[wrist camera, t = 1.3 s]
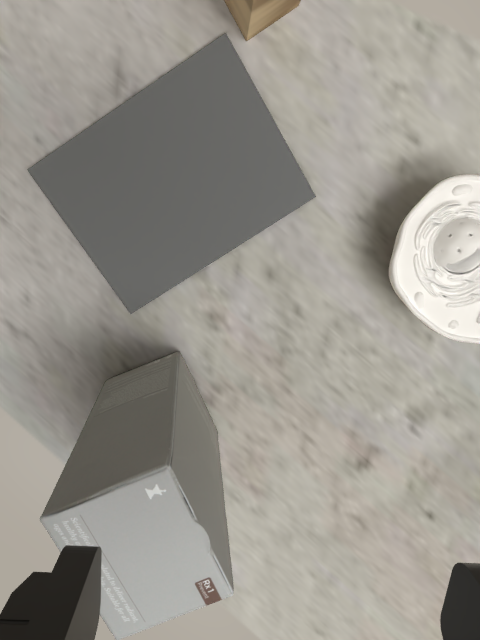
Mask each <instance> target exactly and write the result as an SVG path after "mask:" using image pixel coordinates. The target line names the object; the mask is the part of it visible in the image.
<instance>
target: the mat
mask: <svg viewBox="0 0 480 640" xmlns="http://www.w3.org/2000/svg"><path fill="white" fill-rule="evenodd" d="M28 172H29V173H30V174H31V176H32V177H33V179H34V180H35V181H36V183H37V184H38V185H39V187H40V188H41V190H42V191H43V192H44V194H45V195H46V197H47V198H48V199H49V201H50V202H51V204H52V205H53V206H54V208H55V209H56V211H57V212H58V213H59V215H60V216H61V218H62V219H63V220H64V222H65V223H66V224H67V226H68V227H69V229H70V230H71V231H72V233H73V234H74V236H75V237H76V238H77V240H78V241H79V243H80V244H81V245H82V247H83V248H84V250H85V251H86V252H87V254H88V255H89V257H90V258H91V259H92V261H93V262H94V264H95V265H96V266H97V268H98V269H99V270H100V272H101V273H102V275H103V276H104V277H105V279H106V280H107V282H108V283H109V284H110V286H111V287H112V289H113V290H114V291H115V293H116V294H117V296H118V297H119V298H120V300H121V301H122V303H123V304H124V305H125V307H126V308H127V309H128V311H129V312H130V314H132V313H133V312H135V311H136V310H138V309H139V308H141V307H143V306H144V305H146V304H147V303H149V302H151V301H152V300H154V299H155V298H157V297H158V296H160V295H162V294H163V293H165V292H166V291H168V290H169V289H171V288H173V287H174V286H176V285H177V284H179V283H180V282H182V281H184V280H185V279H187V278H188V277H190V276H192V275H193V274H195V273H196V272H198V271H199V270H201V269H203V268H204V267H206V266H207V265H209V264H210V263H212V262H214V261H215V260H217V259H218V258H220V257H221V256H223V255H225V254H226V253H228V252H229V251H231V250H232V249H234V248H236V247H237V246H239V245H240V244H242V243H244V242H245V241H247V240H248V239H250V238H251V237H253V236H255V235H256V234H258V233H259V232H261V231H262V230H264V229H266V228H267V227H269V226H270V225H272V224H273V223H275V222H277V221H278V220H280V219H281V218H283V217H284V216H286V215H288V214H289V213H291V212H292V211H294V210H296V209H297V208H299V207H300V206H302V205H303V204H305V203H307V202H308V201H310V200H311V199H313V198H314V197H316V196H315V194H314V192H313V191H312V189H311V187H310V185H309V183H308V182H307V180H306V178H305V176H304V174H303V172H302V171H301V169H300V167H299V165H298V163H297V162H296V160H295V158H294V156H293V154H292V152H291V151H290V149H289V147H288V145H287V143H286V142H285V140H284V138H283V136H282V134H281V132H280V131H279V129H278V127H277V125H276V123H275V122H274V120H273V118H272V116H271V114H270V112H269V111H268V109H267V107H266V105H265V103H264V102H263V100H262V98H261V96H260V94H259V92H258V91H257V89H256V87H255V85H254V83H253V82H252V80H251V78H250V76H249V74H248V73H247V71H246V69H245V67H244V65H243V63H242V62H241V60H240V58H239V56H238V54H237V53H236V51H235V49H234V47H233V45H232V43H231V42H230V40H229V38H228V36H227V34H226V33H225V34H223V35H222V36H220V37H219V38H217V39H216V40H215V41H213V42H212V43H210V44H209V45H207V46H206V47H204V48H203V49H202V50H200V51H199V52H197V53H196V54H194V55H193V56H191V57H190V58H189V59H187V60H186V61H184V62H183V63H181V64H180V65H178V66H177V67H175V68H174V69H173V70H171V71H170V72H168V73H167V74H165V75H164V76H162V77H161V78H160V79H158V80H157V81H155V82H154V83H152V84H151V85H149V86H148V87H146V88H145V89H144V90H142V91H141V92H139V93H138V94H136V95H135V96H133V97H132V98H131V99H129V100H128V101H126V102H125V103H123V104H122V105H120V106H119V107H118V108H116V109H115V110H113V111H112V112H110V113H109V114H107V115H106V116H104V117H103V118H102V119H100V120H99V121H97V122H96V123H94V124H93V125H91V126H90V127H89V128H87V129H86V130H84V131H83V132H81V133H80V134H78V135H77V136H75V137H74V138H73V139H71V140H70V141H68V142H67V143H65V144H64V145H62V146H61V147H60V148H58V149H57V150H55V151H54V152H52V153H51V154H49V155H48V156H47V157H45V158H44V159H42V160H41V161H39V162H38V163H36V164H35V165H33V166H32V167H31V168H29V169H28Z"/></svg>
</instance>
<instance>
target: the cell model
mask: <svg viewBox="0 0 480 640" xmlns="http://www.w3.org/2000/svg"><path fill="white" fill-rule="evenodd" d="M389 279H390V282H391V285H392V287H393V289H394V291H395V292H396V294H397V295H398V297H399V298H400V299H401V300H402V302H403V303H404V304H405V305H406V306H407V307H408V308H409V309H410V311H411V312H412V313H413V314H414V315H415V316H416V317H417V318H418V319H419V320H420V321H421V322H423V323H424V324H425V325H426V326H427V327H428V328H430V329H431V330H433V331H435V332H437V333H439V334H441V335H443V336H445V337H447V338H449V339H452V340H456V341H460V342H468V343H476V344H480V175H476V174H464V175H457V176H452V177H449V178H446V179H444V180H442V181H441V182H439V183H438V184H436V185H435V186H434V187H433V188H432V189H431V190H430V191H429V192H428V193H427V194H426V195H425V196H424V197H423V198H422V199H421V200H420V201H419V202H418V203H417V204H416V205H415V206H414V207H413V209H412V210H411V211H410V212H409V213H408V215H407V216H406V218H405V219H404V221H403V222H402V224H401V226H400V228H399V231H398V233H397V237H396V240H395V244H394V249H393V253H392V257H391V260H390V265H389Z"/></svg>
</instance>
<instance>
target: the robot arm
mask: <svg viewBox="0 0 480 640" xmlns="http://www.w3.org/2000/svg"><path fill="white" fill-rule="evenodd" d="M101 561H102V551H101V547H97V546H73V545H66V546H65V547H64V548H63V549H62V551H61V553H60V555H59V558H58V560H57V562H56V564H55V566H54V569H53V571H52V573H48V572H33V573H32V574H31V575H30V576H29V577H28V578H27V579H26V580H25V581H24V582H23V583H22V584H21V585H20V586H19V587H18V588H17V589H16V590H15V591H14V592H12V594H11V596H10V598H9V599H8V601H7V603H6V605H5V607H4V608H3V610H2V612H1V614H0V640H94V639H95V635H96V631H97V626H98V621H99V614H100V606H101ZM440 622H441V631H442V636H443V640H480V564H477V563H457V564H455V565H454V567H453V570H452V573H451V577H450V581H449V585H448V589H447V593H446V597H445V600H444V604H443V608H442V612H441V619H440Z"/></svg>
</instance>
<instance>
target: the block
mask: <svg viewBox="0 0 480 640" xmlns="http://www.w3.org/2000/svg"><path fill="white" fill-rule="evenodd" d="M224 1H225V3H226V5H227V6H228V8H229V10H230V12H231V14H232V16H233V17H234V19H235V21H236V23H237V25H238V27H239V29H240V30H241V32H242V34H243V36H244V38H245V40H246V41H248V40H249V39H251V38H252V37H254V36H255V35H257V34H258V33H259V32H261V31H262V30H264V29H265V28H267V27H268V26H270V25H271V24H273V23H274V22H276V21H277V20H278V19H280V18H281V17H283V16H284V15H286V14H287V13H289V12H290V11H292V10H293V9H295V8H296V7H297V6H299V3H300V1H301V0H224Z"/></svg>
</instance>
